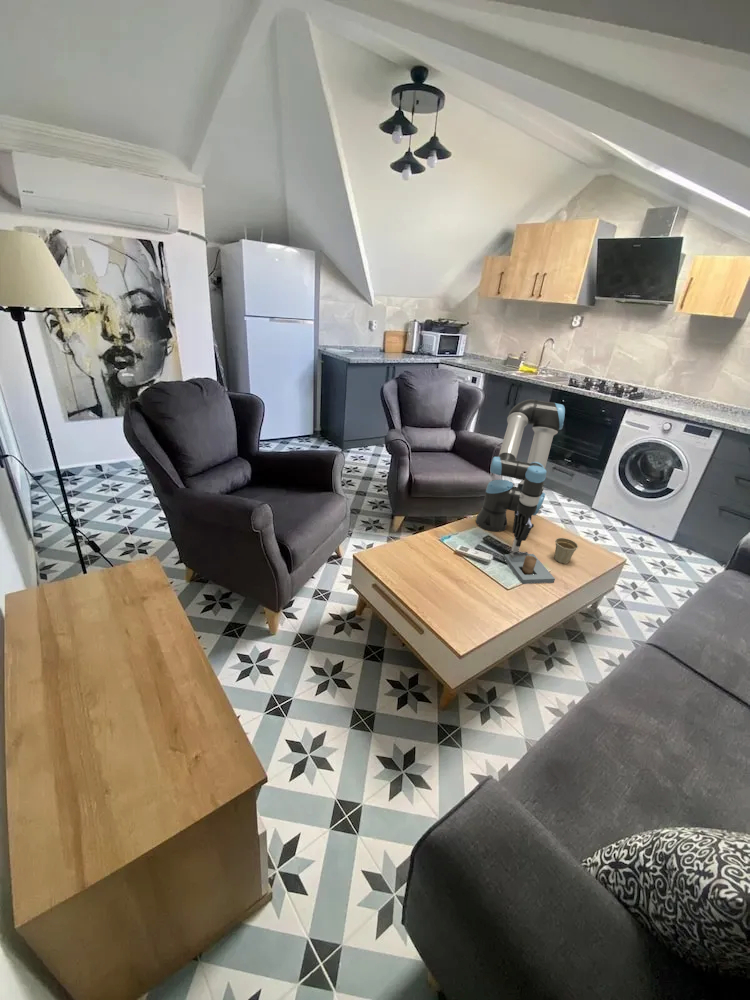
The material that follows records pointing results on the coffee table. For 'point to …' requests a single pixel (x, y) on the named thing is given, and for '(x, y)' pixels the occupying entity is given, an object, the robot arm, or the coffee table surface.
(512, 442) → the robot arm
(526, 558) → the walnut peg
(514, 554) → the bar
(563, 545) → the flower pot
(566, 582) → the coffee table surface
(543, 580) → the housing plate
